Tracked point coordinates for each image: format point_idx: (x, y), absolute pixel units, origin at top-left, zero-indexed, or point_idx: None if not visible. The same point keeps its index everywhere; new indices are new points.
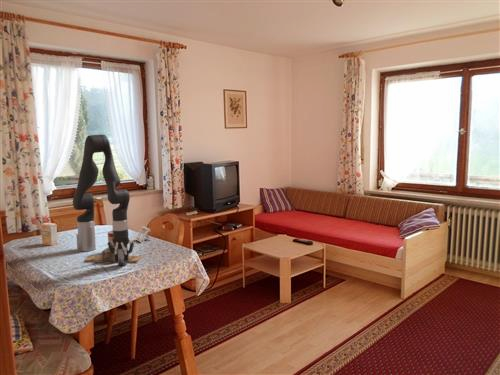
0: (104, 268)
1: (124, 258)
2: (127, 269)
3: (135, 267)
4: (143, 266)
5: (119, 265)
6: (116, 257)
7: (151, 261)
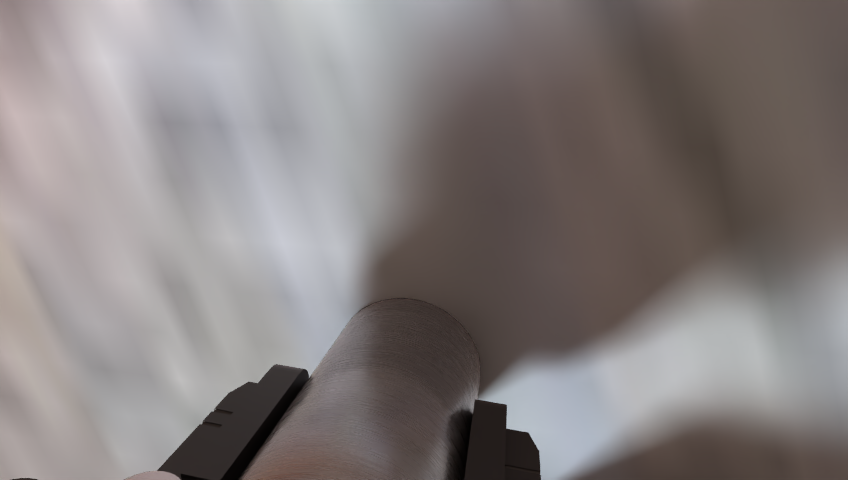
0: (733, 203)
1: (284, 416)
2: (218, 111)
3: (127, 219)
4: (27, 260)
5: (433, 314)
6: (489, 466)
7: (31, 469)
